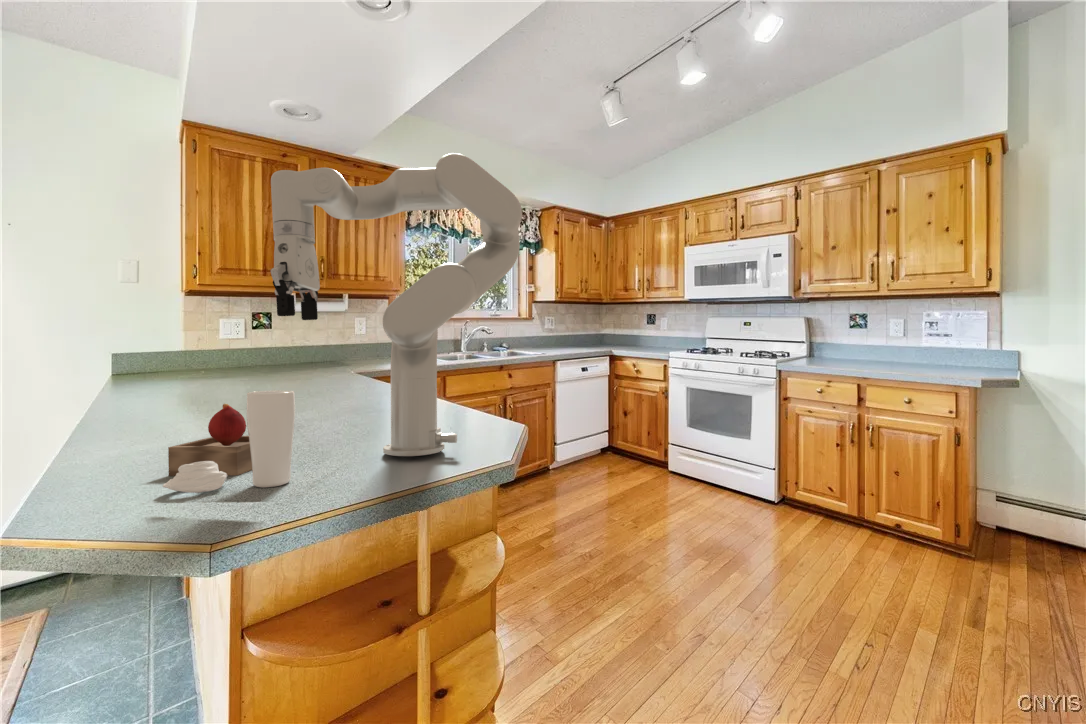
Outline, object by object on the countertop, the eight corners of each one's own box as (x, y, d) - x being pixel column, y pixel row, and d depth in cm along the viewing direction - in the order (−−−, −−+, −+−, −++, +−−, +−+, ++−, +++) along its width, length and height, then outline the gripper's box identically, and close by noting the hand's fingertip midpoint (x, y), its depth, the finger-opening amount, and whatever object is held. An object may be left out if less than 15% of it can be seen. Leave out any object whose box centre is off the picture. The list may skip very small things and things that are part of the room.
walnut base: (276, 460, 94) (276, 435, 93) (237, 475, 82) (237, 446, 81) (216, 460, 93) (216, 435, 93) (168, 475, 81) (168, 447, 81)
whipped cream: (162, 502, 67) (162, 468, 67) (162, 492, 72) (162, 460, 72) (229, 492, 72) (229, 460, 72) (225, 483, 77) (225, 453, 77)
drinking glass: (264, 478, 79) (263, 390, 79) (303, 478, 79) (303, 390, 79) (237, 489, 72) (236, 393, 72) (280, 490, 72) (279, 393, 72)
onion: (241, 442, 92) (241, 401, 92) (249, 446, 88) (249, 403, 88) (205, 446, 88) (205, 403, 88) (212, 450, 83) (211, 405, 83)
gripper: (291, 221, 87) (296, 313, 88) (330, 244, 105) (334, 320, 105) (250, 223, 87) (255, 315, 87) (296, 245, 104) (300, 321, 105)
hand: (298, 317), depth 96 cm, fingers open, 9 cm apart
